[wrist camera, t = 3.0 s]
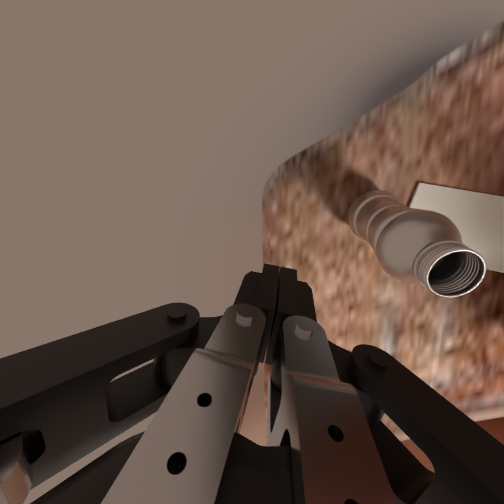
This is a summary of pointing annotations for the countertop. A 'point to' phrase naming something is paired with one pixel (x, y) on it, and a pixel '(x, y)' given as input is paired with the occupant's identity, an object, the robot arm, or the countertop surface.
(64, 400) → the robot arm
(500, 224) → the mat
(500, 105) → the countertop surface
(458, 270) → the plastic bottle
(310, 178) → the countertop surface
